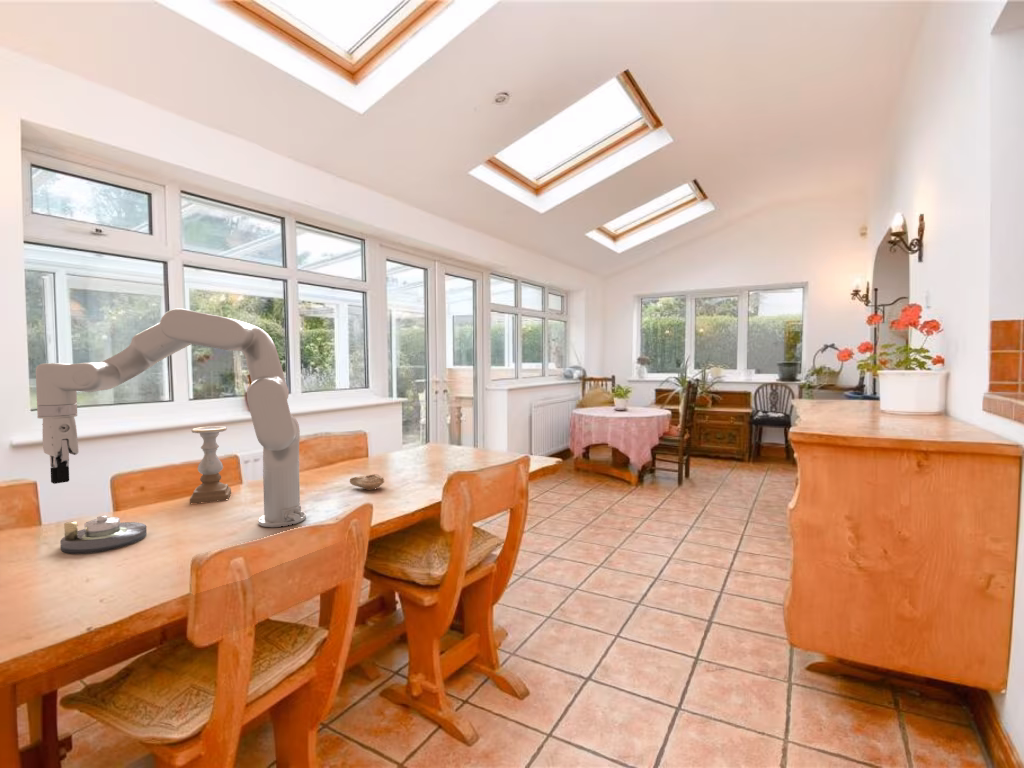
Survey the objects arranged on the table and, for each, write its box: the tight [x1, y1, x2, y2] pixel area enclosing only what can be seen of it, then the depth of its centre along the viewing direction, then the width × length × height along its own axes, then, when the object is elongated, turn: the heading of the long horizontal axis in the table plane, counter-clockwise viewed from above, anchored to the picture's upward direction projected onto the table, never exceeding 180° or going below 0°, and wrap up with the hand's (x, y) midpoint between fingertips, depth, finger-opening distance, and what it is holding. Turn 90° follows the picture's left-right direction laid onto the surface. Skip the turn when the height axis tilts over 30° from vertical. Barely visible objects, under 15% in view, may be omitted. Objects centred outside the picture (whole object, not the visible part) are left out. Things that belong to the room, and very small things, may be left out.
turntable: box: [60, 520, 147, 555], centre depth 126 cm, size 17×17×6 cm
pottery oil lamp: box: [349, 473, 385, 491], centre depth 179 cm, size 9×12×7 cm
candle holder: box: [189, 425, 232, 505], centre depth 166 cm, size 11×11×24 cm
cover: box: [84, 514, 121, 538], centre depth 127 cm, size 7×7×4 cm
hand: (60, 482), depth 127 cm, fingers closed
